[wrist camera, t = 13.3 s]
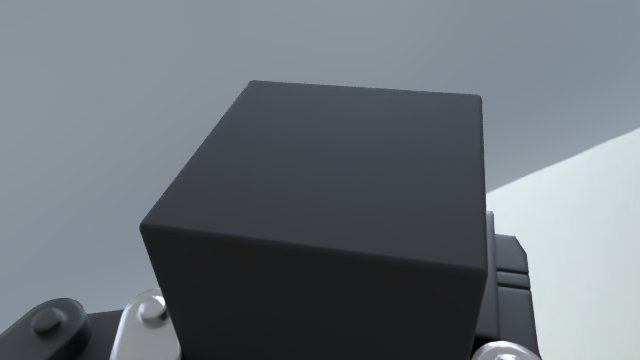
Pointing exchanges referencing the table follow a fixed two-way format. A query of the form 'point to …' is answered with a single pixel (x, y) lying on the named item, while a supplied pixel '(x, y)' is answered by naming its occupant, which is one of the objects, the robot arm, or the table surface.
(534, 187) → the table surface
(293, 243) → the tall dark pillar
